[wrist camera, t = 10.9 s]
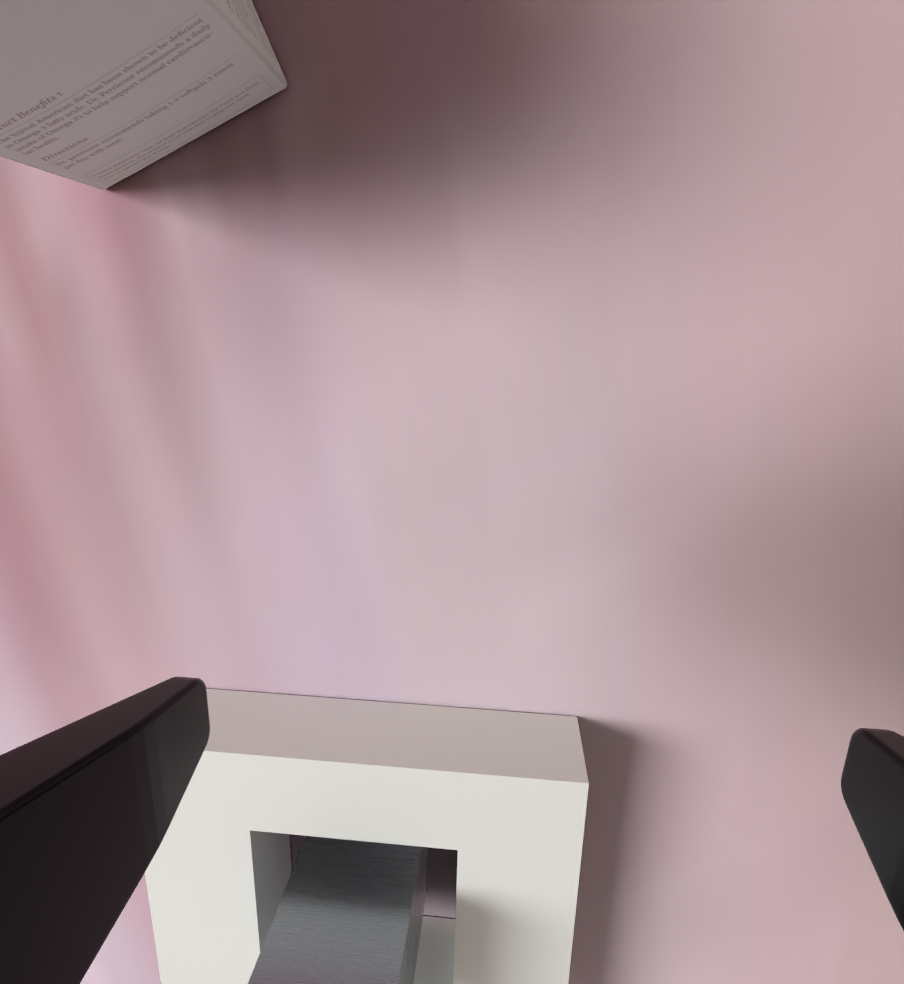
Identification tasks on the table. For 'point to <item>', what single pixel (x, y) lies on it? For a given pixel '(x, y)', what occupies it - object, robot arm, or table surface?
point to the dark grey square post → (347, 916)
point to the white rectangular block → (124, 80)
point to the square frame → (376, 829)
